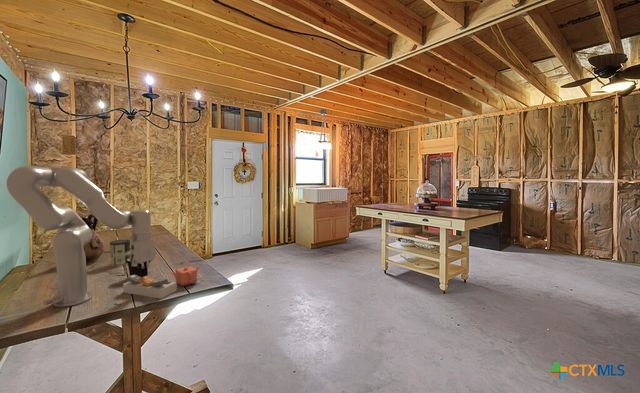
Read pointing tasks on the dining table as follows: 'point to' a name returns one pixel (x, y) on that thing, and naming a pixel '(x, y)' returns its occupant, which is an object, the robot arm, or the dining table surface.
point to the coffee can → (119, 252)
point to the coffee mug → (133, 269)
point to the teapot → (186, 275)
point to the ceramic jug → (93, 242)
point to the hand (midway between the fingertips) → (143, 275)
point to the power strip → (150, 289)
